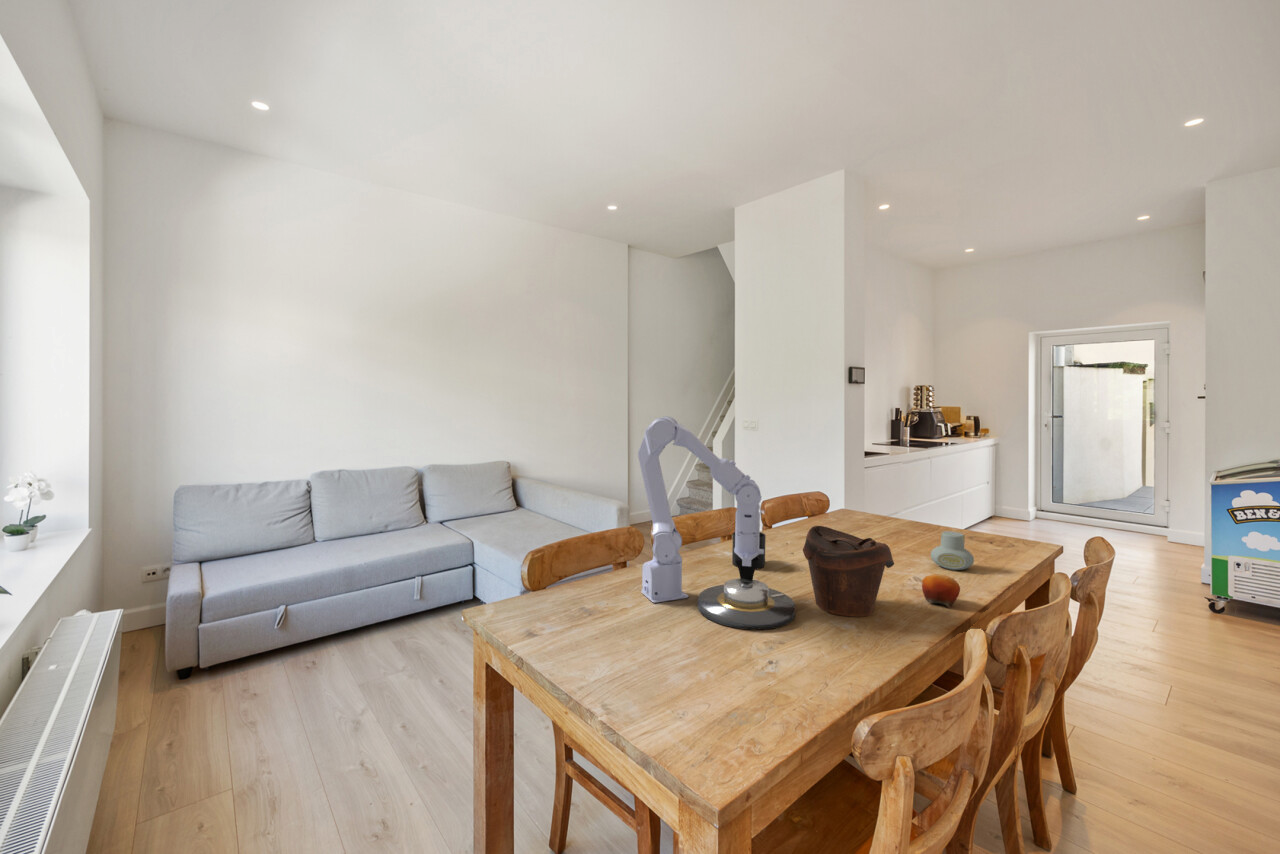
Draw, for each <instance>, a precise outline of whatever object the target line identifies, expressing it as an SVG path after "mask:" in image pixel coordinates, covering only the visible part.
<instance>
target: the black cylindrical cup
mask: <svg viewBox="0 0 1280 854" xmlns="http://www.w3.org/2000/svg"><path fill="white" fill-rule="evenodd" d="M766 538H767V537H766V534H765V533H763V532H760V533H759V549H764V554H759V555H757V556H759V563H758V565H757V567H756V569H755V570H757V569H758V570H759V569H762V568H763V567H765V565H766V540H767V539H766ZM734 548H735V531H734V532H733V533H732V552H731V553H732V558H731V559H732V561H731V562H732V564H733V566H734V567H737V565H736V562H735V556H737V554H736V553H735V552H734Z"/></svg>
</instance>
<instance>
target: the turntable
mask: <svg viewBox="0 0 1280 854" xmlns="http://www.w3.org/2000/svg"><path fill="white" fill-rule="evenodd" d="M697 610H698V611H699V613H700V614H701V615H702V616H703V617H704V618H706V619H708V620H710V621H712V622H714V623H716V624H720V625H722V626H726V627H729V628H730V627H731V628H734V629H742V630H771V629H777V628H780V627H783V626H786V625H788V624H790V623H791V622H792V621H794V619H795V616H796V603H795V601H794V600H793V599H792V598H791V597H790V596H789V595H787V594H785V593H783V592H782V591H779V590H777V589H773V588H769V587H768V605H767V606H766V607H764V608H760V609H740V608H735V607H732V606H730V605H728V604H727V603H725V601H724V584H718V585H714V586H710V587H707V588H706V589H703V590H702V591H701V592H699V595H698V596H697Z"/></svg>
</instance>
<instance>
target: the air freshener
mask: <svg viewBox="0 0 1280 854" xmlns="http://www.w3.org/2000/svg"><path fill="white" fill-rule="evenodd" d="M930 558H931V560H932V561H933V562H934V563H935V564H936V565H938V567H941V568H943V569H944V570H945V569H946V570H949V571H960V570H961V571H962V570H966V569H968V568H971V567H972V566H973V565H974V562H975V559H974V555H973V554H972V552H971V551H969V550H967V549H966V548H965V534H963V533H961V532H958V531H950V530H949V531H947V530H945V531H942V532H941V535H940V545H937V546H936V547H934V548H933V549H932V550H931V551H930Z"/></svg>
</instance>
